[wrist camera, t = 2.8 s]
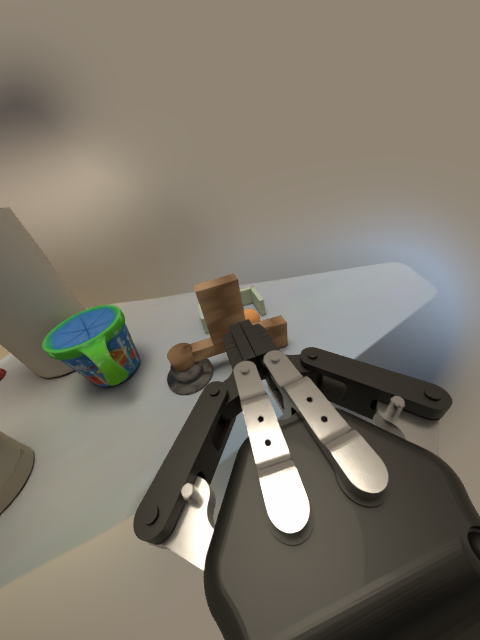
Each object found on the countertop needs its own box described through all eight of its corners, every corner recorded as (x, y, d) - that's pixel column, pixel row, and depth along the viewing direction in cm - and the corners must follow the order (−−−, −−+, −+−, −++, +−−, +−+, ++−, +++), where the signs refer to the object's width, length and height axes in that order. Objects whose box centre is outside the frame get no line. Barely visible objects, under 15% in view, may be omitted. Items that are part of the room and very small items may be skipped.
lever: (179, 387, 32) (137, 313, 23) (178, 369, 35) (139, 297, 26) (289, 348, 34) (287, 268, 26) (280, 334, 37) (274, 258, 29)
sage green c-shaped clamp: (206, 333, 41) (201, 319, 39) (201, 316, 45) (196, 302, 43) (265, 314, 42) (263, 299, 40) (255, 300, 47) (253, 286, 45)
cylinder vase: (22, 375, 40) (-147, 241, 25) (77, 330, 49) (-23, 212, 34) (69, 384, 36) (-97, 233, 21) (119, 333, 46) (29, 202, 30)
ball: (243, 338, 38) (239, 321, 36) (237, 325, 41) (233, 308, 39) (264, 331, 39) (262, 313, 36) (256, 319, 42) (254, 302, 39)
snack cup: (83, 360, 41) (44, 318, 34) (138, 333, 45) (112, 291, 38) (90, 424, 30) (35, 380, 24) (162, 381, 34) (131, 333, 27)
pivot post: (169, 401, 31) (161, 390, 29) (168, 365, 36) (161, 354, 34) (216, 384, 31) (212, 372, 30) (208, 352, 37) (204, 340, 35)
